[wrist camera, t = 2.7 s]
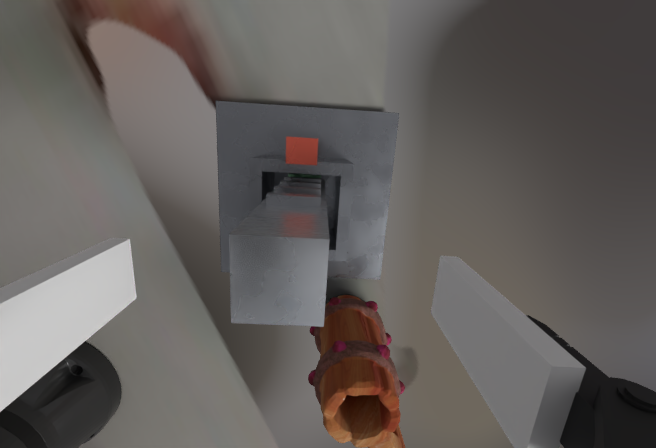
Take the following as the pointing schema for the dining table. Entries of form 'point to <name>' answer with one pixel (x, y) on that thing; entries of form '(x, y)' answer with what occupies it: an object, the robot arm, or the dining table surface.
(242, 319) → the column
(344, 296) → the mug
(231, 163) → the stand base
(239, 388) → the dining table surface
